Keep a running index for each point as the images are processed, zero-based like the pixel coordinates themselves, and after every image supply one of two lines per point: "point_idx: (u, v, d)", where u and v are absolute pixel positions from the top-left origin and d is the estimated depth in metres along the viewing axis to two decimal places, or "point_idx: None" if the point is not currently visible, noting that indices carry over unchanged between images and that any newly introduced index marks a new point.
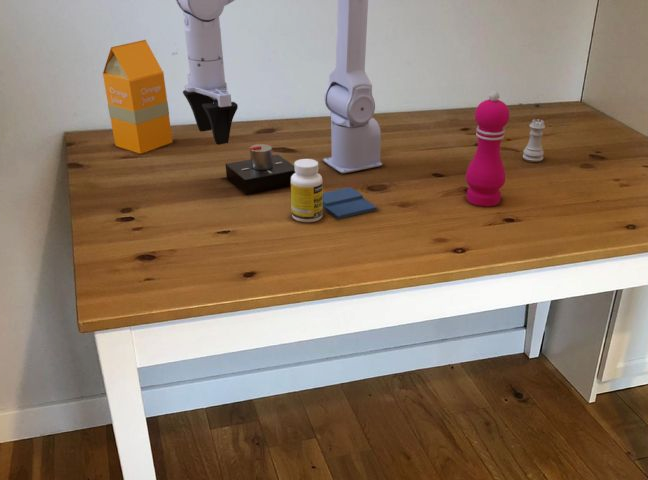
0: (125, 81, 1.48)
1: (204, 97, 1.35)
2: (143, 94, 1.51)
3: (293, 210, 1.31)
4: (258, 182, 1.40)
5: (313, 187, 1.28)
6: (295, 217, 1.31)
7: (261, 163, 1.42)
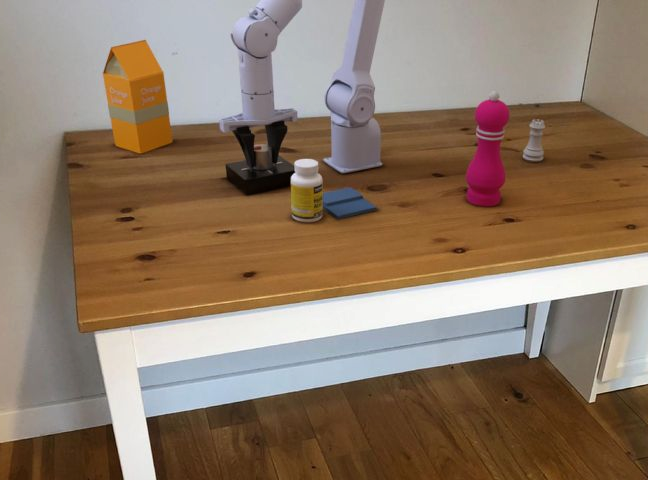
0: (125, 81, 1.48)
1: (271, 132, 1.41)
2: (143, 94, 1.51)
3: (293, 210, 1.31)
4: (258, 182, 1.40)
5: (313, 188, 1.28)
6: (295, 217, 1.31)
7: (261, 163, 1.42)
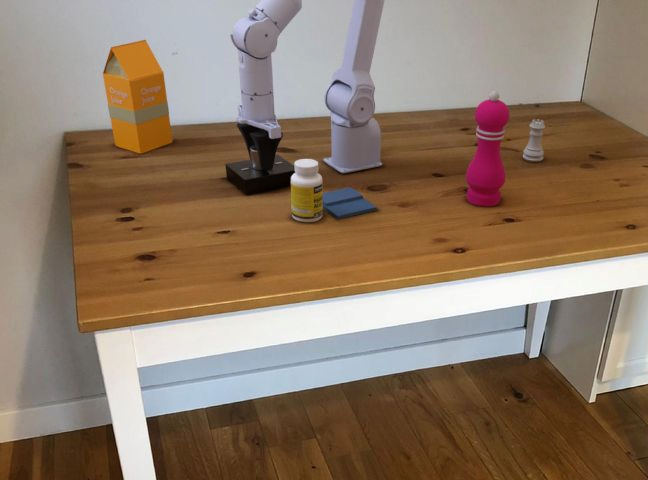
0: (125, 81, 1.48)
1: (257, 130, 1.42)
2: (143, 94, 1.51)
3: (293, 210, 1.31)
4: (258, 182, 1.40)
5: (313, 188, 1.28)
6: (295, 217, 1.31)
7: None
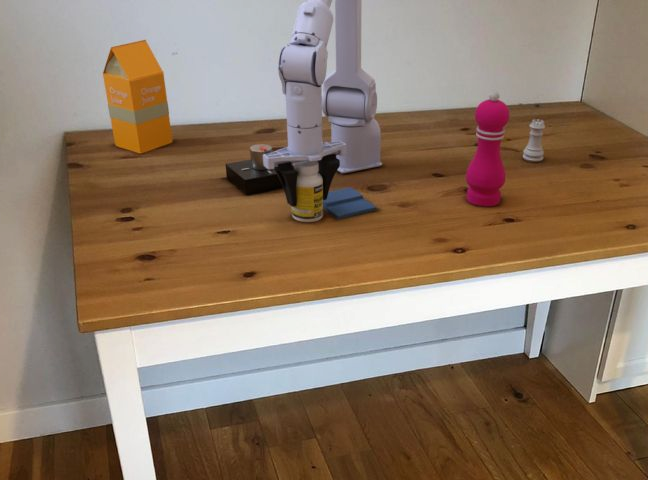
0: (125, 81, 1.48)
1: None
2: (143, 94, 1.51)
3: (294, 210, 1.31)
4: (258, 182, 1.40)
5: (313, 188, 1.28)
6: (295, 217, 1.31)
7: None
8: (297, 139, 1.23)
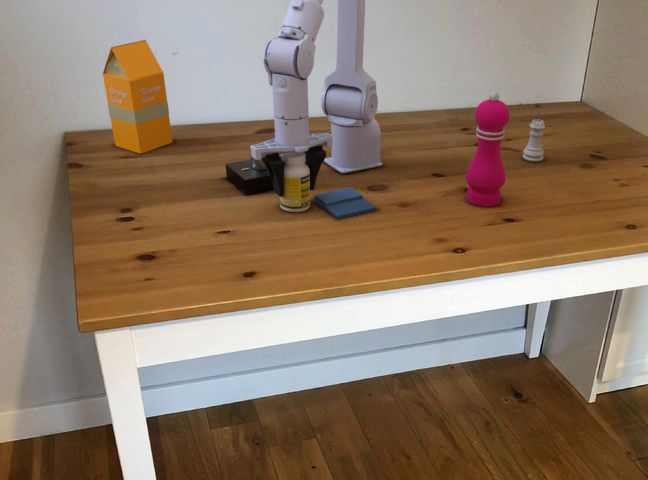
0: (125, 81, 1.48)
1: None
2: (143, 94, 1.51)
3: (281, 200, 1.34)
4: (258, 182, 1.40)
5: (300, 178, 1.31)
6: (283, 207, 1.35)
7: None
8: (284, 130, 1.26)
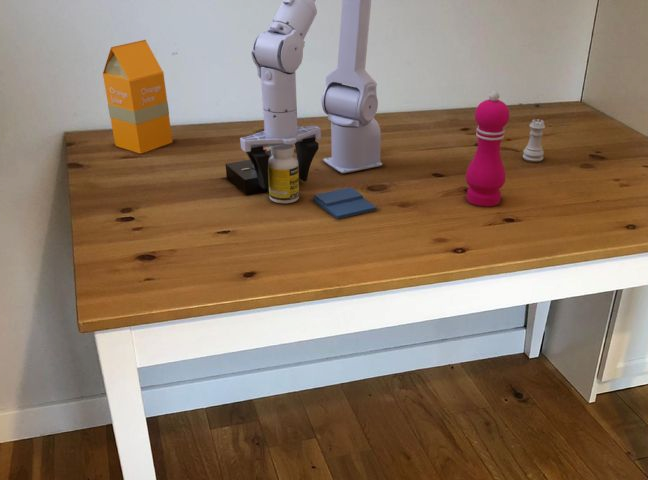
0: (125, 81, 1.48)
1: None
2: (143, 94, 1.51)
3: (271, 192, 1.37)
4: (258, 182, 1.40)
5: (289, 170, 1.34)
6: (272, 198, 1.38)
7: None
8: (273, 123, 1.29)
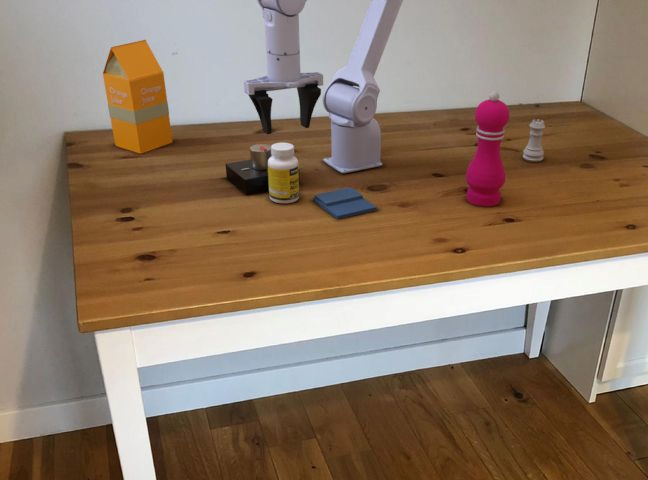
0: (125, 81, 1.48)
1: None
2: (143, 94, 1.51)
3: (271, 192, 1.37)
4: (258, 182, 1.40)
5: (289, 170, 1.34)
6: (272, 198, 1.38)
7: None
8: (276, 66, 1.31)
